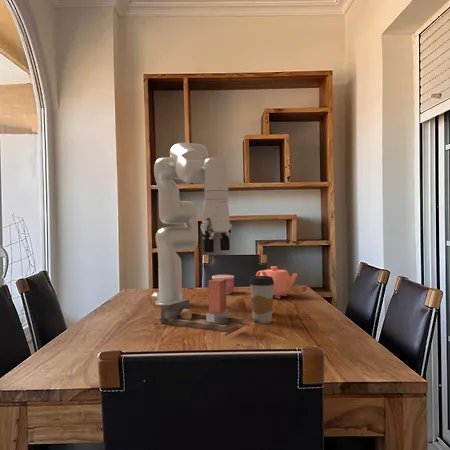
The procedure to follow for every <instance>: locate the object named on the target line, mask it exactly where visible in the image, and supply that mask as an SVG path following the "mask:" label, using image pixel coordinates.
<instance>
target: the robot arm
mask: <svg viewBox="0 0 450 450" xmlns="http://www.w3.org/2000/svg"><path fill="white" fill-rule="evenodd" d="M209 156H210V155H209V151H208V148H207V147H206V146H205V145H204V144H201V143H192V142H178V143H176V144H174V145H173V146H172V147H171V148H170V149H169V156H168V157H167V156H165V157H160V158H158V159H156V161H154V165H153V172H154V173H153V175H154V178H155V184H156V185H157V190H158V216H159V220H160V222H161V223H162V224H166V225H167V224H168V225H175V224H176V225H181V224H182V225H183V224H184V226H166V227H162V228H160V229H158V230H157V231H156V233H155V243H156V250H157V262H158V264H157V265H158V268H157V270H158V292H153V294H152V295H151V297H152V298H156V300H155V302H154V304H155V305H156V306H158V307H161V304H165V303H169V302H172V301H176V300H179V299H183V281H182V280H183V279H182V276H183V275H182V274H183V272H182V259H181V257H180V255H179V254H178V253H177V252H176V251H187V250H193V249H195V248H196V247H197V245H198V243H199V224H198V222H199V221H198V220H199V218H198V216H199V215H198V209H197V206H196V204H195V203H194V202H193V201H190V200H180V189H179V186H178V185H177V183H176V182H175V180H182V181H183V182H185V183H187V184H189V183H190V184H204V187H203V188H204V191H203V192H204V201H203V205H202V215H201V217H202V218H201V224H200V230H201V235H202V240H203V250H204V251H203V252H204V253H214V252H215V239H214V236H215V233H216V234H218V233H219V235H220V238H219V239H220V240H219V247H220V248H219V249H220V251H230V250H231V249H230V248H231V247H230V243H231V242H230V238H231V233H232V228H233V227H232V225H233V224H232V223H231V222H230V210H229V165H228V160H227V159H226V158H223V157H209ZM174 179H175V180H174Z"/></svg>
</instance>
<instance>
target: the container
mask: <svg viewBox="0 0 450 450" xmlns="http://www.w3.org/2000/svg"><path fill="white" fill-rule="evenodd" d="M214 279H221V280H226V295H230V294H229V293H231V294H232V292H233V290H234V286H235V285H234V284H235V280H234V279H235V276H234V275H232V274H214V275H212V276H211V280H214Z"/></svg>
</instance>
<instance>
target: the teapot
mask: <svg viewBox="0 0 450 450" xmlns="http://www.w3.org/2000/svg"><path fill="white" fill-rule="evenodd" d="M255 276H270V277H273V280H274V285H273V296H274V299H275V298H277V299H276V300H280V298H281V297H283V296H286V297H288V295H289V294H290V293H291V292H292V289H293V285H294V284H295V282H296V279H297V277H298V273H295V272H294V273H292V275H291V276H290V273H289V271H288V270H286V269H278V266H275V265H273V266H270V269H263V270H259V271H257V272H256V274H255Z"/></svg>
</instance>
